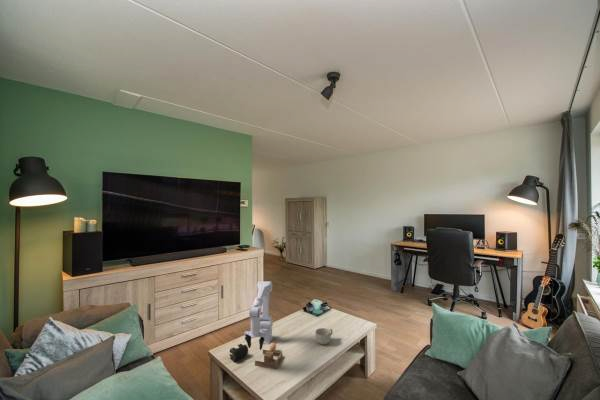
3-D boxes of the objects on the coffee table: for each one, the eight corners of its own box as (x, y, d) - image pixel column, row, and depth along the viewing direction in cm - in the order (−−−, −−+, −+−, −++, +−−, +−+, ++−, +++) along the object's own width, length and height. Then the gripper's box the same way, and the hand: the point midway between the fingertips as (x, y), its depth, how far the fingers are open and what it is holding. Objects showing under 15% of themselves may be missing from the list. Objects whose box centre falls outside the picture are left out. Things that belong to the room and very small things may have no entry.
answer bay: (263, 353, 170) (263, 349, 170) (282, 356, 167) (282, 352, 167) (254, 365, 158) (254, 361, 158) (275, 369, 154) (275, 365, 154)
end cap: (235, 363, 159) (235, 353, 159) (229, 359, 164) (229, 348, 164) (248, 356, 167) (248, 346, 167) (241, 352, 172) (241, 342, 172)
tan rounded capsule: (271, 349, 175) (271, 342, 175) (276, 350, 174) (276, 342, 174) (269, 352, 171) (269, 345, 171) (274, 353, 170) (274, 346, 170)
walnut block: (266, 358, 165) (266, 351, 165) (273, 359, 164) (273, 352, 164) (264, 362, 161) (264, 355, 161) (270, 363, 159) (270, 356, 159)
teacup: (319, 347, 176) (319, 336, 176) (312, 339, 187) (313, 329, 186) (337, 343, 182) (337, 332, 182) (329, 336, 192) (329, 325, 192)
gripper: (241, 327, 157) (241, 349, 157) (263, 331, 153) (263, 353, 153) (246, 322, 164) (246, 343, 164) (267, 325, 160) (267, 347, 160)
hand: (255, 348), depth 159 cm, fingers open, 7 cm apart
